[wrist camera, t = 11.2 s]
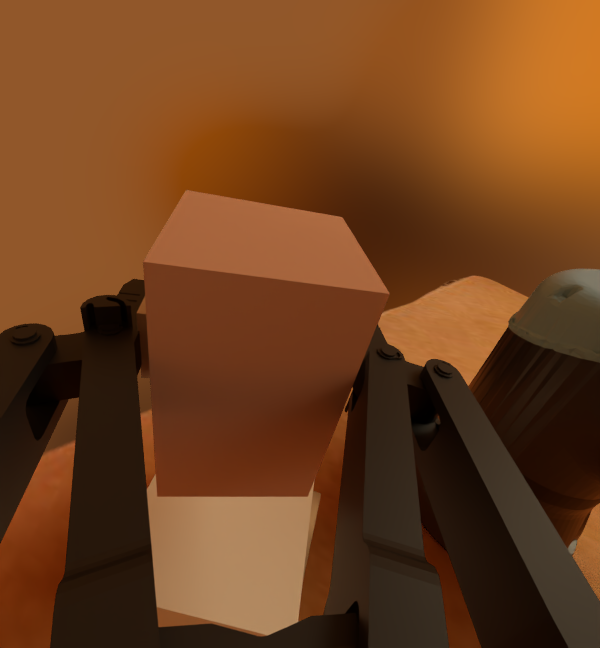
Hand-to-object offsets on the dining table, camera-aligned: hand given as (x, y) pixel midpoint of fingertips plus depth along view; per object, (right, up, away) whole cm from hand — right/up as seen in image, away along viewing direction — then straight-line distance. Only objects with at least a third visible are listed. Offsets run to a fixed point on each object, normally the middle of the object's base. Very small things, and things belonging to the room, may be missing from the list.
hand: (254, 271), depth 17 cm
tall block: (-1, -8, -1) cm, 8 cm away
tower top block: (-3, -17, +6) cm, 18 cm away
